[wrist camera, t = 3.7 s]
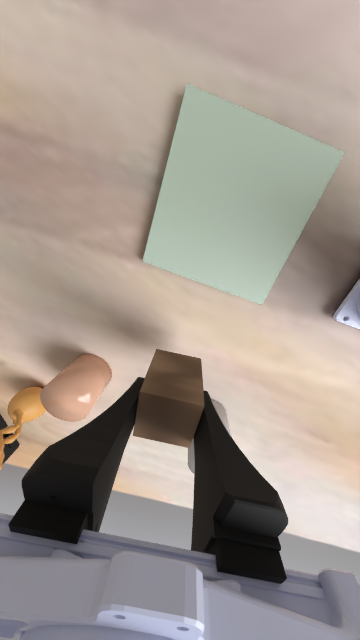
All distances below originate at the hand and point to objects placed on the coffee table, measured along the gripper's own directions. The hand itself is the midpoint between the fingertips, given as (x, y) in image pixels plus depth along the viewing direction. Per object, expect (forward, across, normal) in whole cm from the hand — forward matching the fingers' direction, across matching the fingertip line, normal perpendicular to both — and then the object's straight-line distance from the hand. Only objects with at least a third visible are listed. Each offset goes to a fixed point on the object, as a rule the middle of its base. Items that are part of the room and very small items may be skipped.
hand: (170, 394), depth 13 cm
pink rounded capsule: (+7, +10, +6) cm, 13 cm away
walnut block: (+3, 0, 0) cm, 3 cm away
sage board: (+7, -2, -14) cm, 16 cm away
